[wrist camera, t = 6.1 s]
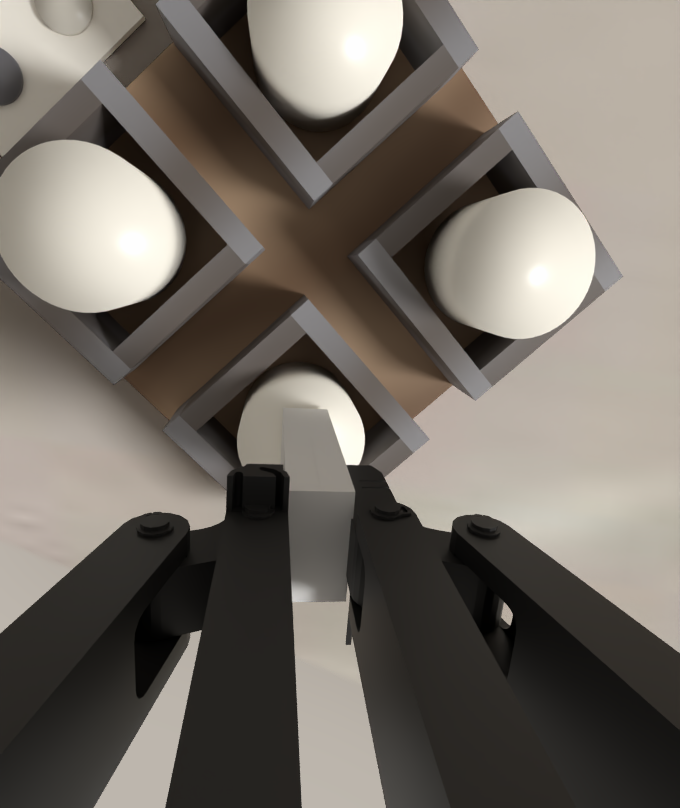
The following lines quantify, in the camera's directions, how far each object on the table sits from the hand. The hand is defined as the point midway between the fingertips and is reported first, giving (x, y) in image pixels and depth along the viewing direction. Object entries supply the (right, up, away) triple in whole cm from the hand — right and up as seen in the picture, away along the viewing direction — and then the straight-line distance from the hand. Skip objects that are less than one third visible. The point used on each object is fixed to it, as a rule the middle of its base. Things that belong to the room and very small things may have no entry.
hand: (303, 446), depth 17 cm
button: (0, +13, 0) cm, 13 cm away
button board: (0, +8, +3) cm, 8 cm away
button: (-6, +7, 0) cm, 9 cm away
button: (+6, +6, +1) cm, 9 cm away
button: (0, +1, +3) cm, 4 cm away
